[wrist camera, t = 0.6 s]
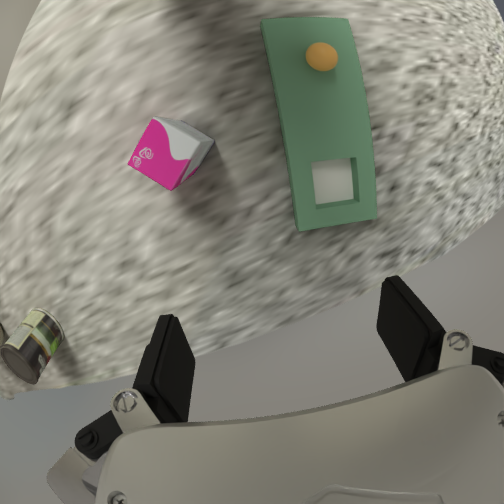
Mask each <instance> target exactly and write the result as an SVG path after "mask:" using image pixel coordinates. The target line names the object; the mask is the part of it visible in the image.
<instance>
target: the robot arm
mask: <svg viewBox="0 0 504 504" xmlns="http://www.w3.org/2000/svg"><path fill="white" fill-rule="evenodd" d="M377 332H378V334H379V335H380V337H381V339H382V341H383V342H384V344H385V346H386V348H387V349H388V351H389V353H390V355H391V356H392V358H393V360H394V362H395V364H396V366H397V367H398V369H399V371H400V373H401V375H402V377H403V378H404V380H405V383H402V384H399V385H396V386H393V387H390V388H387V389H384V390H381V391H378V392H375V393H372V394H368V395H365V396H361V397H358V398H354V399H350V400H347V401H343V402H339V403H335V404H331V405H326V406H322V407H317V408H312V409H307V410H302V411H297V412H291V413H285V414H279V415H271V416H264V417H256V418H247V419H237V420H224V421H208V422H188V415H189V407H190V399H191V391H192V384H193V377H194V370H195V358H194V355H193V353H192V351H191V348H190V346H189V344H188V341H187V339H186V337H185V334H184V332H183V329H182V327H181V324H180V322H179V319H178V318H177V317H174V316H173V314H168V315H160V316H159V319H158V321H157V324H156V327H155V330H154V333H153V335H152V338H151V341H150V344H148V345H147V346H146V348H145V351H144V354H143V357H142V360H141V363H140V366H139V369H138V372H137V375H136V379H135V381H134V384H133V388H126V389H122V390H120V391H118V392H117V393H116V394H115V395H114V396H113V397H112V399H111V402H110V407H111V410H110V411H109V412H108V413H106V414H104V415H103V416H101V417H100V418H98V419H97V420H95V421H93V422H92V423H91V424H89V425H87V426H86V427H84V428H82V429H81V430H80V431H79V432H78V433H77V435H76V437H75V447H74V448H72V447H70V448H69V449H68V450H67V451H66V452H65V454H63V456H62V457H61V458H60V459H59V460H58V461H57V462H56V463H55V464H54V466H53V467H52V468H51V469H50V470H49V472H48V473H47V483H48V484H49V486H50V487H51V489H52V490H53V491H54V493H55V494H56V495H57V496H58V497H59V498H60V500H61V501H62V502H63V503H64V504H504V354H503V353H501V352H497V351H493V350H489V349H485V348H481V347H477V346H473V343H472V339H471V337H470V336H469V335H468V334H467V333H466V332H464V331H462V330H457V329H454V330H450V331H448V332H447V333H446V331H445V330H444V328H443V327H442V326H441V324H440V323H439V322H438V321H437V319H436V318H435V317H434V316H433V315H432V313H431V312H430V311H429V310H428V309H427V307H426V306H425V305H424V304H423V303H422V302H421V300H420V299H419V298H418V297H417V296H416V295H415V294H414V293H413V291H412V290H411V289H410V288H409V287H408V286H407V285H406V284H405V282H404V281H402V279H401V278H400V277H399V276H398V275H395V276H391V277H387V278H386V279H385V281H383V282H382V288H381V297H380V305H379V312H378V319H377Z"/></svg>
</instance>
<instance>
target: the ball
mask: <svg viewBox="0 0 504 504" xmlns="http://www.w3.org/2000/svg"><path fill="white" fill-rule="evenodd" d="M306 60H307V62H308V64H309V65H310V66H311V67H312V68H314V69H315V70H318V71H329V70H331V69H333V68H334V67H335V66H336V64H337V62H338V54H337V52H336V50H335V49H334V48H333V47H332V46H331V45H329V44H327V43H323V42H318V43H314V44H312V45H311V46H309V47H308V49H307V51H306Z"/></svg>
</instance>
